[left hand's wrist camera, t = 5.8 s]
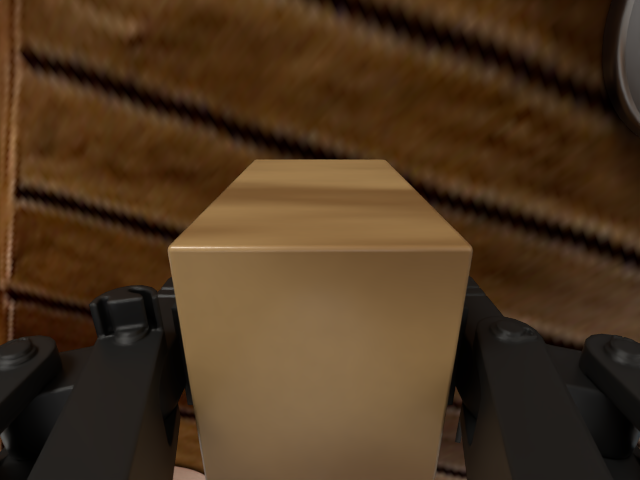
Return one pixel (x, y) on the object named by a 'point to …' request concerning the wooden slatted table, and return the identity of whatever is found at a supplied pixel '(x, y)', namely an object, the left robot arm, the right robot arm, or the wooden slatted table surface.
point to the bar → (320, 323)
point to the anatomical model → (187, 474)
